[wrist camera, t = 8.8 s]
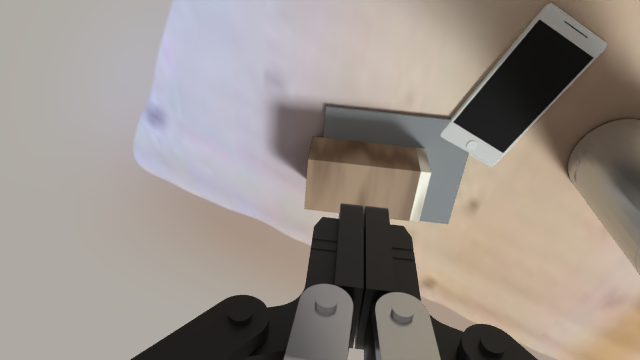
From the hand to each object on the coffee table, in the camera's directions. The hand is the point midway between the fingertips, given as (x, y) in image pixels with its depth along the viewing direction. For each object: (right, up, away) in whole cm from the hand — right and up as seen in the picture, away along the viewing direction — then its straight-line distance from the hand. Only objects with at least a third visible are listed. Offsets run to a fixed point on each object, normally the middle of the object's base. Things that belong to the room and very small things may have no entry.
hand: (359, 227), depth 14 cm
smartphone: (+18, +11, +30) cm, 37 cm away
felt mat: (+7, +3, +35) cm, 36 cm away
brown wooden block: (-2, +2, +33) cm, 33 cm away
